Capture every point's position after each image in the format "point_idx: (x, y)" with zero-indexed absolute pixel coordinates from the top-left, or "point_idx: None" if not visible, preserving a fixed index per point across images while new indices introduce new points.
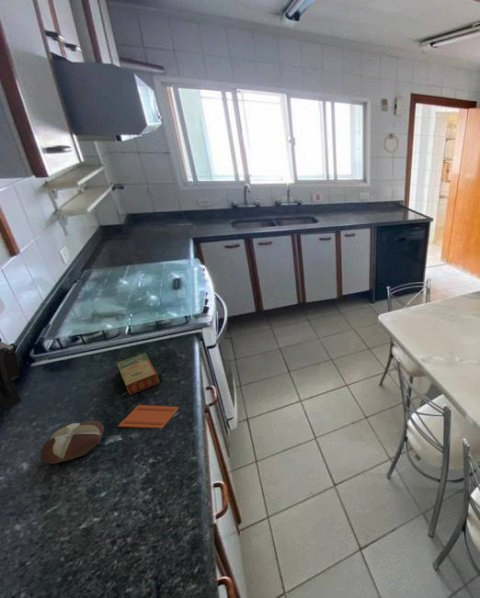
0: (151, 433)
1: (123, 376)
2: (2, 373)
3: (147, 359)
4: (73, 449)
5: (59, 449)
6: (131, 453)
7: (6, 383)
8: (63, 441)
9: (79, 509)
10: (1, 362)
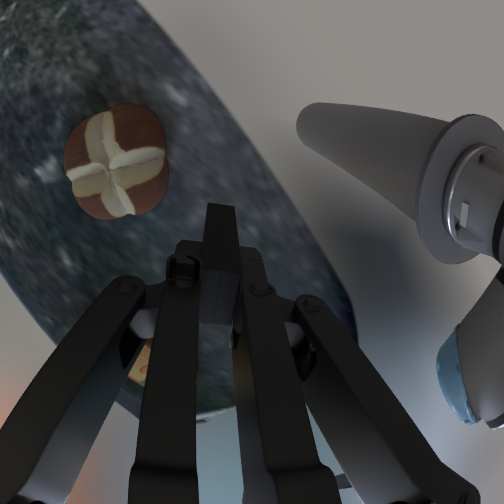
0: (2, 186)
1: (145, 347)
2: (103, 339)
3: (139, 383)
4: (79, 126)
5: (105, 123)
6: (4, 136)
7: (130, 277)
8: (105, 144)
9: (25, 22)
10: (33, 426)
